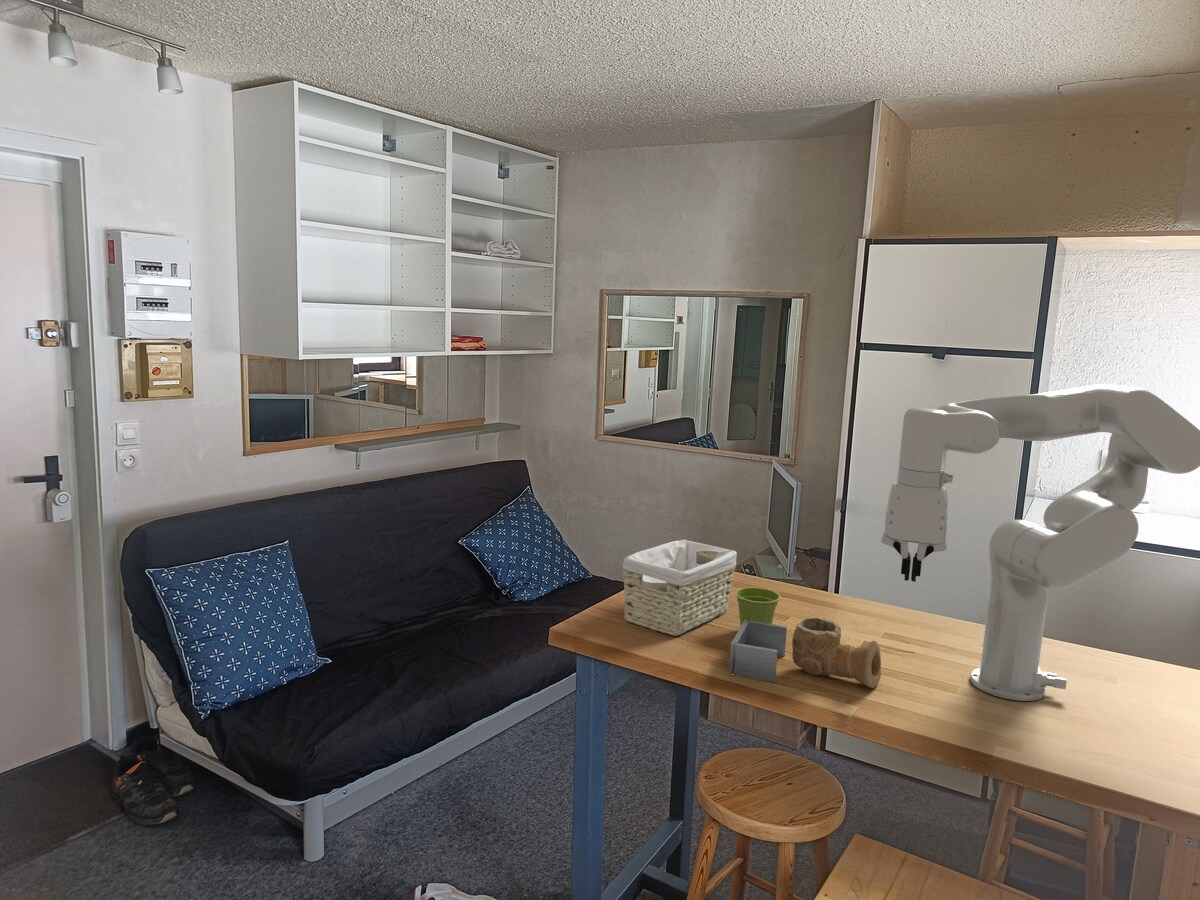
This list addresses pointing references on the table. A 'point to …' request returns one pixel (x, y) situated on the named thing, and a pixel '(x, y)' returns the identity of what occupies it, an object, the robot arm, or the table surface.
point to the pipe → (834, 653)
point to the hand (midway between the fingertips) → (909, 578)
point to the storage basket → (677, 586)
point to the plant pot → (757, 604)
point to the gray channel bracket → (757, 650)
